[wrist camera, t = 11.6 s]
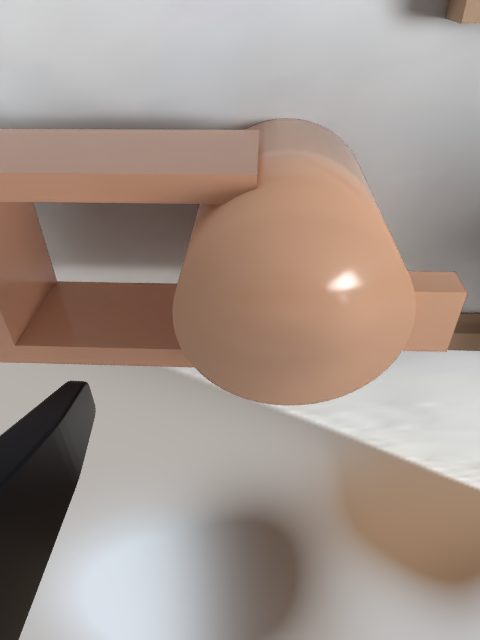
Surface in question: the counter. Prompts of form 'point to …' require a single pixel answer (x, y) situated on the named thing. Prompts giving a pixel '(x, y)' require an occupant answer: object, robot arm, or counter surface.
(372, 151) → the counter surface
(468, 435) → the counter surface
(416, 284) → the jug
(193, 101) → the counter surface
